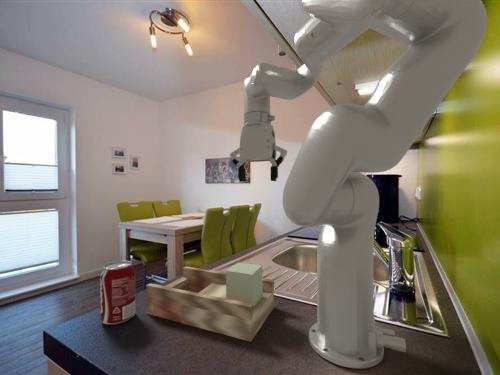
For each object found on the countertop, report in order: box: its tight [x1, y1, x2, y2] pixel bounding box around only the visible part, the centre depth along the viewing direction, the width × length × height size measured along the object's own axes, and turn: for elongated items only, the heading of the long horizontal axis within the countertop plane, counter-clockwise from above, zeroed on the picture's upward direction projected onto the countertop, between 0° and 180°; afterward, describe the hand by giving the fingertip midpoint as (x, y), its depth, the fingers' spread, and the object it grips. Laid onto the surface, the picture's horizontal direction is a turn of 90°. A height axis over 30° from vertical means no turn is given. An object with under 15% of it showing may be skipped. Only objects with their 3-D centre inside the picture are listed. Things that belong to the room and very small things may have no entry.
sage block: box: [225, 262, 263, 307], centre depth 54 cm, size 6×6×7 cm
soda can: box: [99, 260, 137, 326], centre depth 54 cm, size 7×7×12 cm
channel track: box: [145, 266, 275, 343], centre depth 57 cm, size 26×14×6 cm, turn 66°
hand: (257, 181), depth 70 cm, fingers open, 9 cm apart
